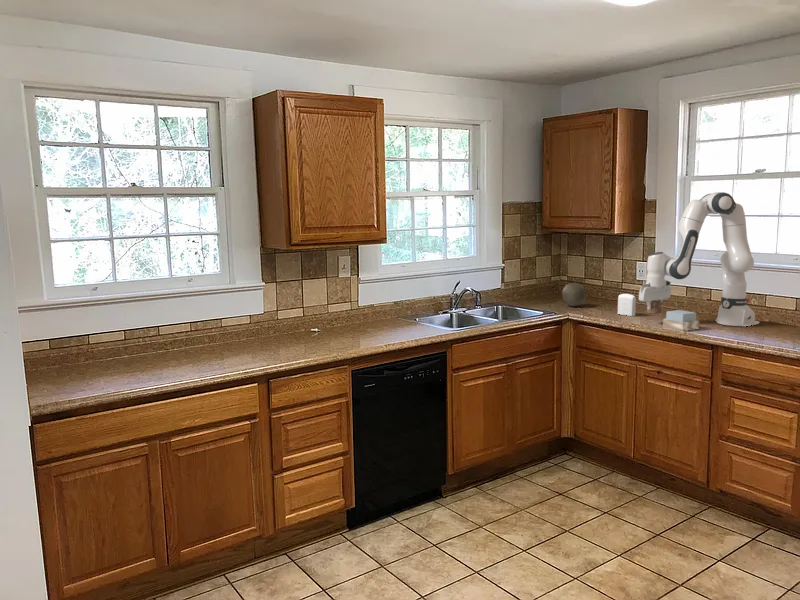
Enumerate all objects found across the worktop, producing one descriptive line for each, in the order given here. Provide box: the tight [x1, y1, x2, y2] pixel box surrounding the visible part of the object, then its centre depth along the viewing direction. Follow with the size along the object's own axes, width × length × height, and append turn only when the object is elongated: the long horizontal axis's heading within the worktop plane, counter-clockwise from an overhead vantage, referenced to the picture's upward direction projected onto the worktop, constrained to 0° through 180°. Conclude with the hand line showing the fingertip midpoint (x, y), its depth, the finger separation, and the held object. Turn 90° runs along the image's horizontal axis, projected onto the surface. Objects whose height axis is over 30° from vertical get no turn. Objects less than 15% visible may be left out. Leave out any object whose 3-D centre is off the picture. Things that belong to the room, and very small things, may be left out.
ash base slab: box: [662, 318, 700, 332], centre depth 330 cm, size 12×12×5 cm
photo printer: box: [617, 293, 637, 317], centre depth 368 cm, size 10×4×12 cm, turn 39°
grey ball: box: [561, 282, 587, 308], centre depth 398 cm, size 14×14×15 cm
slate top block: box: [665, 309, 697, 322], centre depth 329 cm, size 10×10×4 cm
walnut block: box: [646, 300, 662, 314], centre depth 342 cm, size 5×5×6 cm
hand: (654, 308), depth 342 cm, fingers closed on walnut block, 5 cm apart
